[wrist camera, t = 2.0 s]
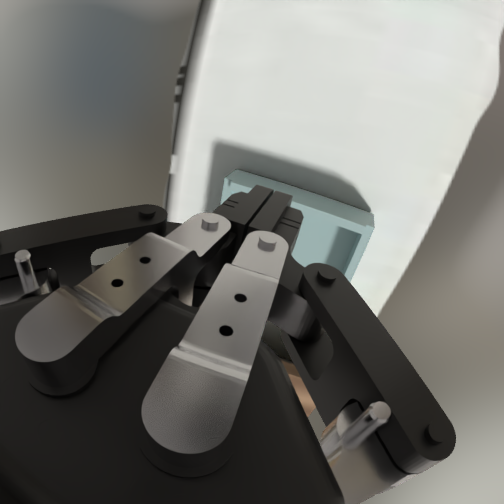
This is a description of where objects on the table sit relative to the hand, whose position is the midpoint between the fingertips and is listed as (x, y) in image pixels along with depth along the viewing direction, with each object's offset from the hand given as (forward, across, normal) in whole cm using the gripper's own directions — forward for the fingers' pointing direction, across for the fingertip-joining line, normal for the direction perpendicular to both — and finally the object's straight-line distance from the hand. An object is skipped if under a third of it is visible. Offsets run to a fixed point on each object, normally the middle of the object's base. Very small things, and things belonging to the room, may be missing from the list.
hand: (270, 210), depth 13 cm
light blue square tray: (+17, 0, +11) cm, 20 cm away
